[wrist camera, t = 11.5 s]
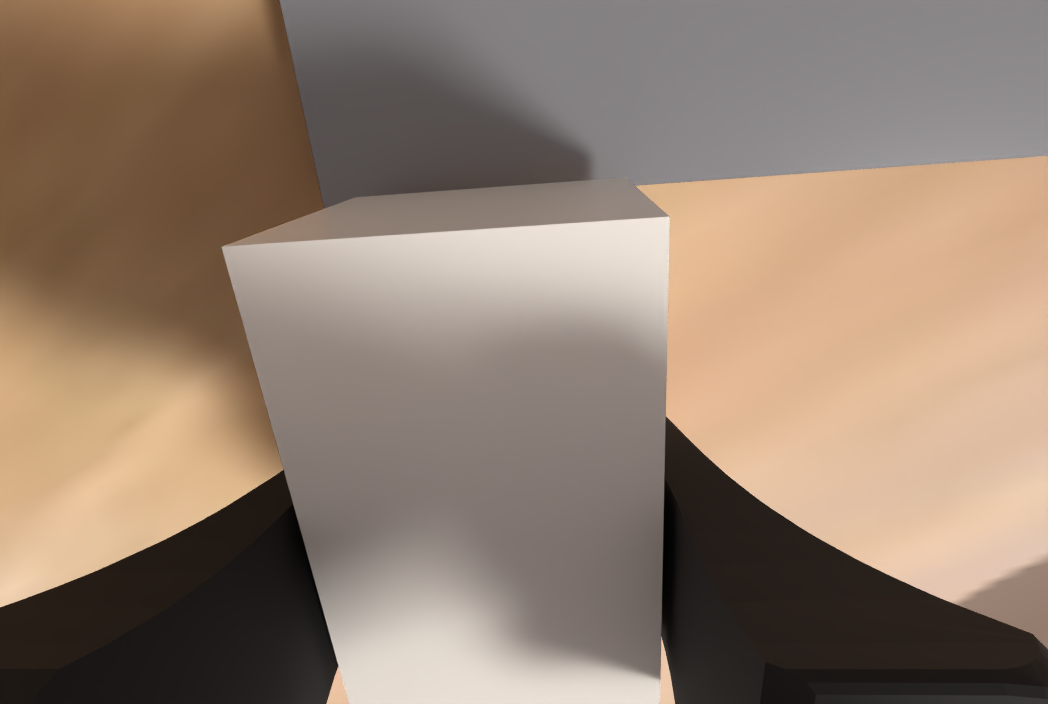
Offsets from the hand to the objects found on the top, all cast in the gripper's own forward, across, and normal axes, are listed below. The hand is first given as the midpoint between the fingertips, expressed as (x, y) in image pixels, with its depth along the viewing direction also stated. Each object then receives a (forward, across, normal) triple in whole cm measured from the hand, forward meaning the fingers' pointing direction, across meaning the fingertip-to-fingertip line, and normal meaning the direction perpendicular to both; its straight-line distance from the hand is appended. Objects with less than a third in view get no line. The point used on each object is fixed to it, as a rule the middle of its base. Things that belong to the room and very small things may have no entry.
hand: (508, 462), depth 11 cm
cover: (+1, 0, 0) cm, 1 cm away
